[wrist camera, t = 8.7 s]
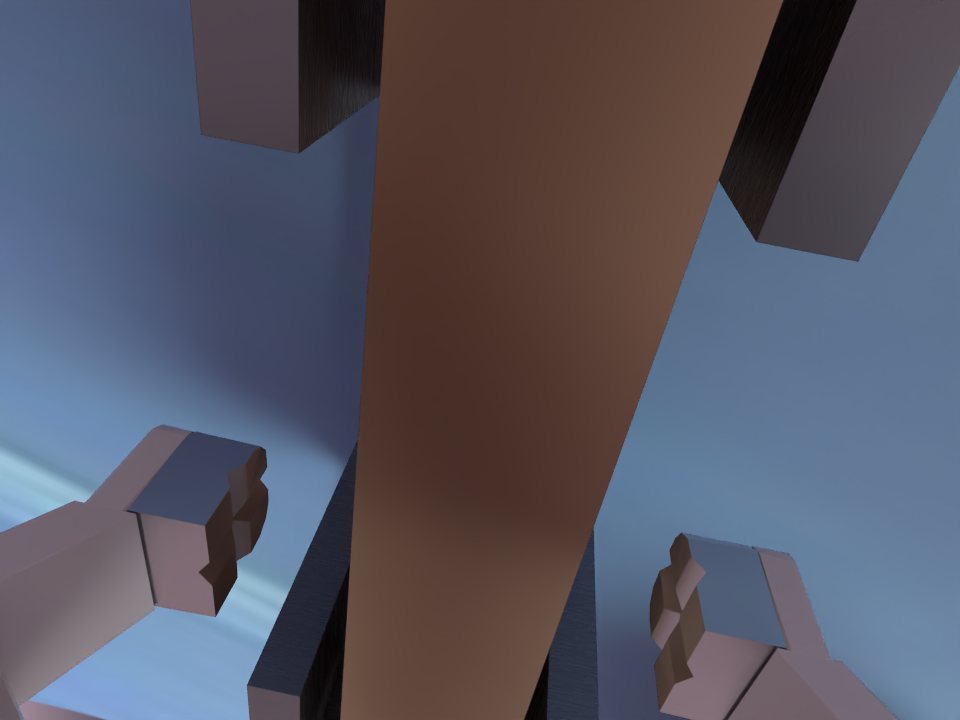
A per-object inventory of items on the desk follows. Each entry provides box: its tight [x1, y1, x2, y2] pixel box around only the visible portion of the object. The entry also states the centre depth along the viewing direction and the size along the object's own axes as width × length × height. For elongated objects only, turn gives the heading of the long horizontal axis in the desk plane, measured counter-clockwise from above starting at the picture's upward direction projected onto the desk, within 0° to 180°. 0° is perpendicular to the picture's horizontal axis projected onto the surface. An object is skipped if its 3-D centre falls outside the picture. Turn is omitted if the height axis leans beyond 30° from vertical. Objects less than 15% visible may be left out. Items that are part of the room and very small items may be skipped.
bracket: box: [190, 0, 960, 720], centre depth 13 cm, size 7×22×10 cm, turn 171°
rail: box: [340, 0, 783, 720], centre depth 10 cm, size 3×16×4 cm, turn 171°
